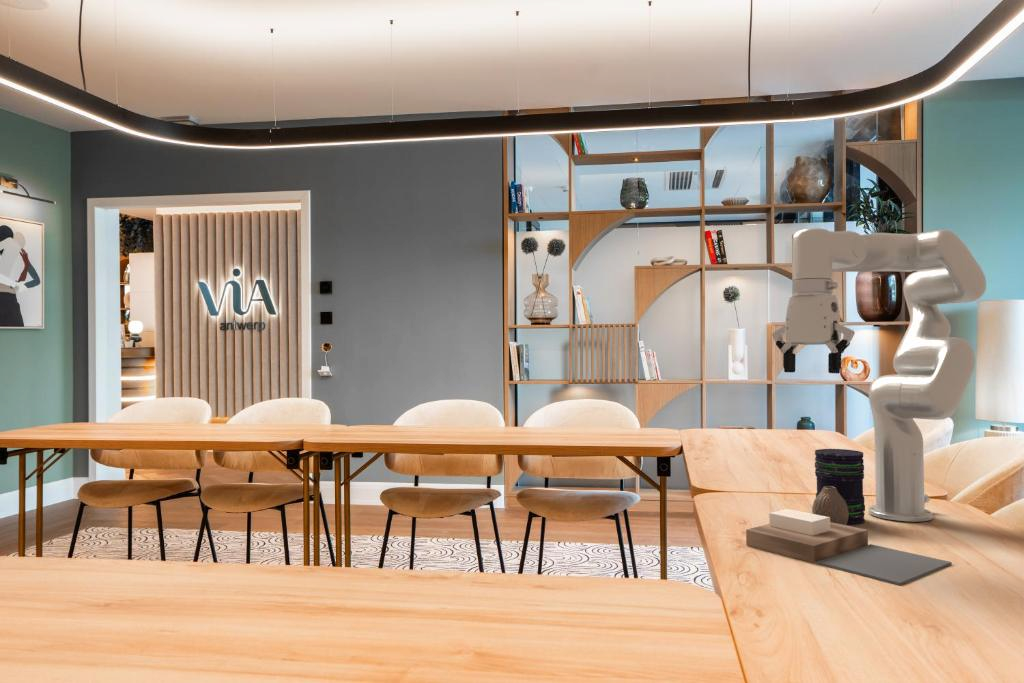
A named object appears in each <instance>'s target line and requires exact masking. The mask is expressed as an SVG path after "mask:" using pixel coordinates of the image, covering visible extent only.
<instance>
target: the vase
mask: <svg viewBox="0 0 1024 683" xmlns="http://www.w3.org/2000/svg"><path fill="white" fill-rule="evenodd" d="M811 512H812V513H811V514H816V515H821V516H826V517H830V522H832V523H837V524H842V525H846V524H847V522H848V517H849V512H848V507H847V504H846V502H845V500H844V499H843V498H842V496H841V495H840V494H839V493H838V491H837V489H836V487H833V486H824V487H823V489H822V491H821V492H820V494H819V495H818V496H817V497H816V496H815V498H814V500H813V503H812V507H811ZM846 526H847V525H846Z"/></svg>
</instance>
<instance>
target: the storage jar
mask: <svg viewBox="0 0 1024 683" xmlns="http://www.w3.org/2000/svg"><path fill="white" fill-rule="evenodd" d="M814 455H815V457H814V460H815V462H814V468H815V472H814V473H815V477H816V493H815V498H816V497H817V496H818V495H819V494H820V492H821V491H822V489H823V487H824V486H833V487H836V489H837V491H838V493H839V494H840V495H841V496H842V498H843V499H844V500H845V502H846V504H847V507H848V512H849V517H848V522H847V524H846V526H851V527H854V526H861V525H864V524H865V522H866V520H865V511H866V504H865V496H864V484H863V483H864V479H865V474H864V473H865V472H864V471H865V465H864V462H865V461H864V452H863V451H859V450H854V449H845V448H844V449H841V448H818V449H815V450H814Z"/></svg>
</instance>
